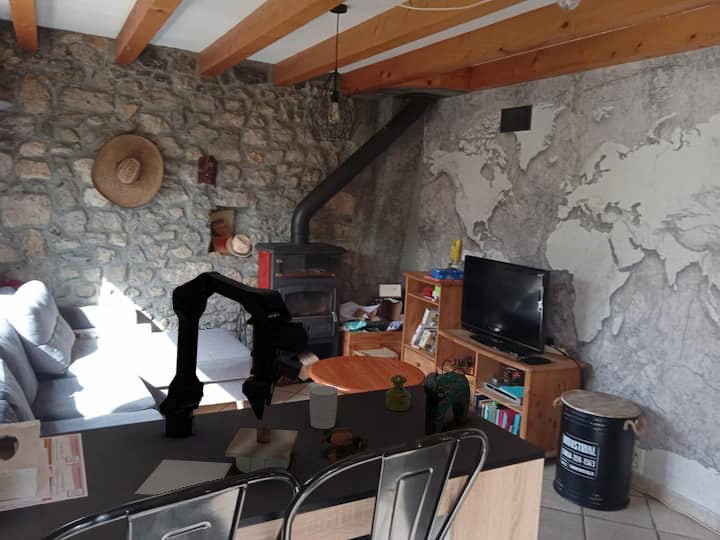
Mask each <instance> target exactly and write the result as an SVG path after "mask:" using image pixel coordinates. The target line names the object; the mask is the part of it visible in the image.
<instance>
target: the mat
mask: <svg viewBox="0 0 720 540" xmlns="http://www.w3.org/2000/svg"><path fill="white" fill-rule="evenodd" d="M232 465H233V463H232V462H231V463H230V462H212V461H210V462H209V461H198V460H197V461H196V460H195V461H194V460H180V459H179V460H176V459H163V460H162V461H161V462H160V464H159V465H158V466H157V467H156V468H155V469H154V471H153V472H152V473H151V474H150V475H149V476H148V477H147V479H146V480H145V481H144V482H143V483H142V484H141V486H139V488H138V489H137V490H136V491H135V492H134V494H136V495H148V496H149V495H150V496H152V495H153V496H157V495H156V494H161V493H164V492H168V491H171V490H175V489H179V488H182V487H186V486H190V485H195V484H198V483H203V482H206V481H212V480H216V479H221V478H223V479H224V478H225V476H226V475H227V474H228V472H229V470H230V468H231V466H232Z"/></svg>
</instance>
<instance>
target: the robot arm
mask: <svg viewBox="0 0 720 540" xmlns="http://www.w3.org/2000/svg"><path fill="white" fill-rule="evenodd" d="M215 294H217V295H220V296H222V297H224V298H227V299H229V300H231V301H234V302H236V303H238V304H239V305H241V306H242V308H243V310H244V311H245V312H246V313H248V314H249V315H251V316H250V317H249V318H248V319H246V321H245V324H246V325H248V326H252V349H251V351H250V356H249V357H251V358H252V359H251V360H252V361H251V362H252V363H251V365H252V367H251V368H250V370H249V375H250V376H249V377H247V378H246V379H245V380H244V382H243V383H242V384H241V393H242V394H243V396H244V397H246V399H247V401H248V403H249V405H250V407H251V409H252V411H253V413H254V415H255V417H256V420H259V421H262V420H263V418H264V414H265V408H266V407H267V406H269V407H270V406H271V405H272V401H273V398H274V397H273V396H274V394H275V393H274V392H275V389H276V388H275V387H276V384H277V382H279V381H280V380H281V379H282V377H285V378H287V379H289V380H290V381H292V382H297V380H298V378H299V377H300V373H301V371H302V369H303V367H304V363H303V361H301V358H300V357H301V356H300V354H302V353H304V352H305V350H306V349H307V347H308V344H309V339H310V338H309V335H308V334H309V333H308V331H307V330H306V328H304V325H303V321H299V320H298V321H295V320H294V321H293V317H292V315H291V313H290V311H289V308H288V307H287V305H286V304H285V301H284V298H283V297H282V293H281V292H280V291H278V290H276V289H272V288H267V287H265V288H264V287H263V288H262V287H255V286H250V285H248V284H246V283H243V282H241V281H238V280H235V279H233V278H231V277H229V276H226V275H224V274H222V273H220V272H219V271H216V270H212V271H211V270H210V271H204V272H201V273H200V274H198V275H197V276H195V277H194V278H192V279H190V280H188V281H186V282H184V283H183V284H181V285H178V286H176V287H175V288H174V289H173V290H172V294H171V301H172V305H171V306H172V311H173V313H175V315H176V318H178V321H177V322H178V327H177V343H176V346H177V347H176V361H175V362H176V363H175V365H176V366H175V375H174V376H173V378H172V380H171V381H170V383H169V385H168V390H167V394H166V397H165V398H164V399H163V400H162V402H160V404H159V405H158V409H159V413H160V415H162V416H165V433H164V434H163V435H162V437H163V438H177V439H188V438H189V437H191V436H192V435H193V434H194V433H195V431H196V416H195V415H194V410H195V411H196V410H199V406H200V404H201V402H202V400H203V398H204V397H205V394H204V388H205V382H204V381H201V380H200V378H199V377H198V376H197V364H198V363H197V362H198V349H199V330H200V319H201V318H202V316H203V315H204V313H205V311H206V309H207V306H208V299H210V297H212V296H213V295H215ZM282 351H285V352H289V353H292V354H291V355H290V356H288V355H286V356H285V355H282Z"/></svg>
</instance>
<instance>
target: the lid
mask: <svg viewBox="0 0 720 540" xmlns="http://www.w3.org/2000/svg"><path fill="white" fill-rule="evenodd" d="M298 435H299V431H298V430H288V429H272V428H271V426H270V425H267V424H261V425H258V426H256V428H252V427H251V428H250V427H240V429H239V430H238V432H236V435H235V436H234V438H233V440H232V441H231V442H230V444H229V445H228V446H227V449H226V450H225V452H224V454H225V455H224V456H225V457H229V458H230V457H231V458H236V457H244V458H262V459H280V460H289V457H290V458H291V454H292V452H293V449H294V446H295V444H296V441H297V438H298Z"/></svg>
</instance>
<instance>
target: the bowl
mask: <svg viewBox="0 0 720 540" xmlns="http://www.w3.org/2000/svg"><path fill="white" fill-rule="evenodd" d="M290 461H291V456H290V457H289V460H280V459H262V458H244V457H235V466H236V468H237V469H238V470H239V472H242V473H244V474H246V473H248V472H253V471H256V470H259V469H263V468H268V467H283V468H285V470H287V469H288V468H289V466H290V463H291V462H290Z"/></svg>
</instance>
